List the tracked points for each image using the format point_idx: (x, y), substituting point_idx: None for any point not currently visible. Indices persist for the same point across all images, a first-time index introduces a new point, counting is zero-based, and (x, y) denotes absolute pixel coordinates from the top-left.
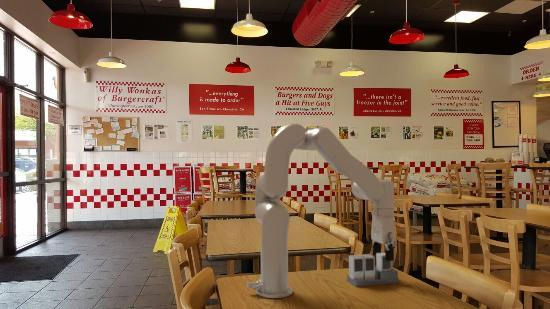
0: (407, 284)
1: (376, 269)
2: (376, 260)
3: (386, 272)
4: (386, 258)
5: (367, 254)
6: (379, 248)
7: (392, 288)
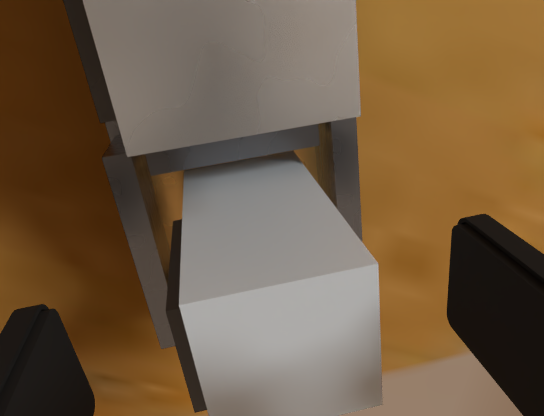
0: (143, 334)
1: (233, 148)
2: (333, 207)
3: (124, 229)
4: (6, 340)
5: (331, 56)
6: (507, 374)
7: (25, 197)
